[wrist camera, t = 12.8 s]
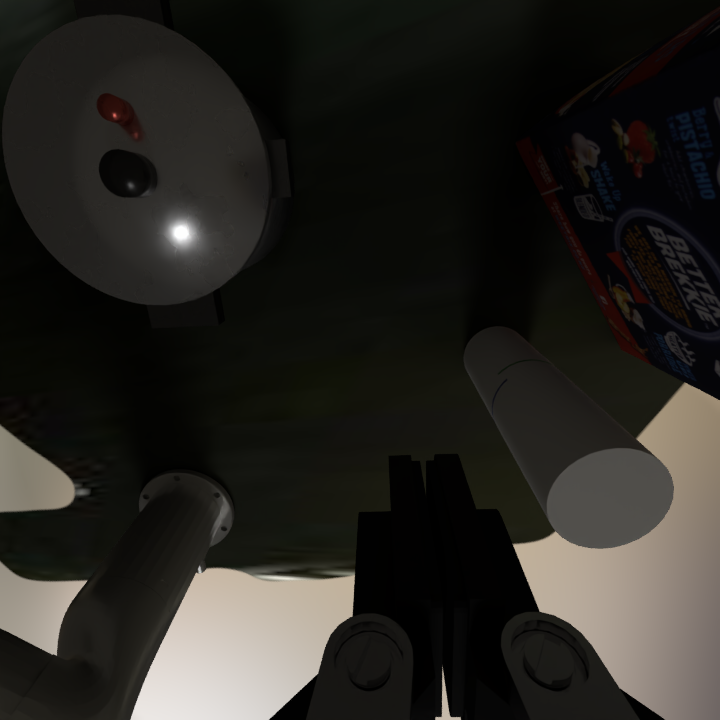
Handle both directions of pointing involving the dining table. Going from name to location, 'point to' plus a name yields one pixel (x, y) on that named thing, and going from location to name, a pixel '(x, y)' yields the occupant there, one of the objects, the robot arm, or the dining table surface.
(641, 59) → the cereal box
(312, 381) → the dining table surface
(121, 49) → the cooker lid
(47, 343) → the dining table surface
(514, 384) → the cylindrical container
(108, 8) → the cooker pot
